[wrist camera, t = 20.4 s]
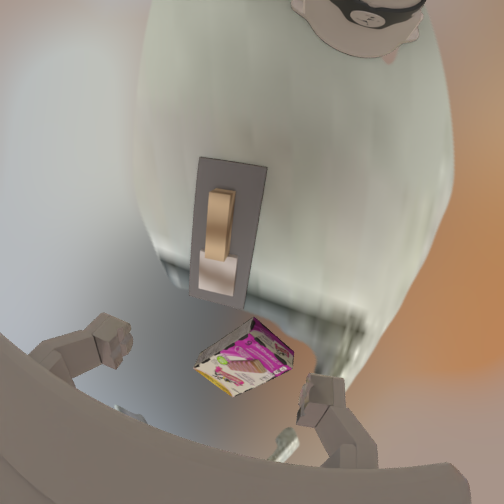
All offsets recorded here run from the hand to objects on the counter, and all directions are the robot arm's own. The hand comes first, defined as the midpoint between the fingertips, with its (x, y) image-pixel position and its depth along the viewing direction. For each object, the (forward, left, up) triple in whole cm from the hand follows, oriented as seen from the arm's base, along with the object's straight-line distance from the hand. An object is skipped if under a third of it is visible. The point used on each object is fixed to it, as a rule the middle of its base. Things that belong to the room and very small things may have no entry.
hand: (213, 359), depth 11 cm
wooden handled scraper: (+9, -8, -31) cm, 33 cm away
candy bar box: (+24, +4, -29) cm, 38 cm away
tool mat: (+8, -8, -31) cm, 33 cm away
